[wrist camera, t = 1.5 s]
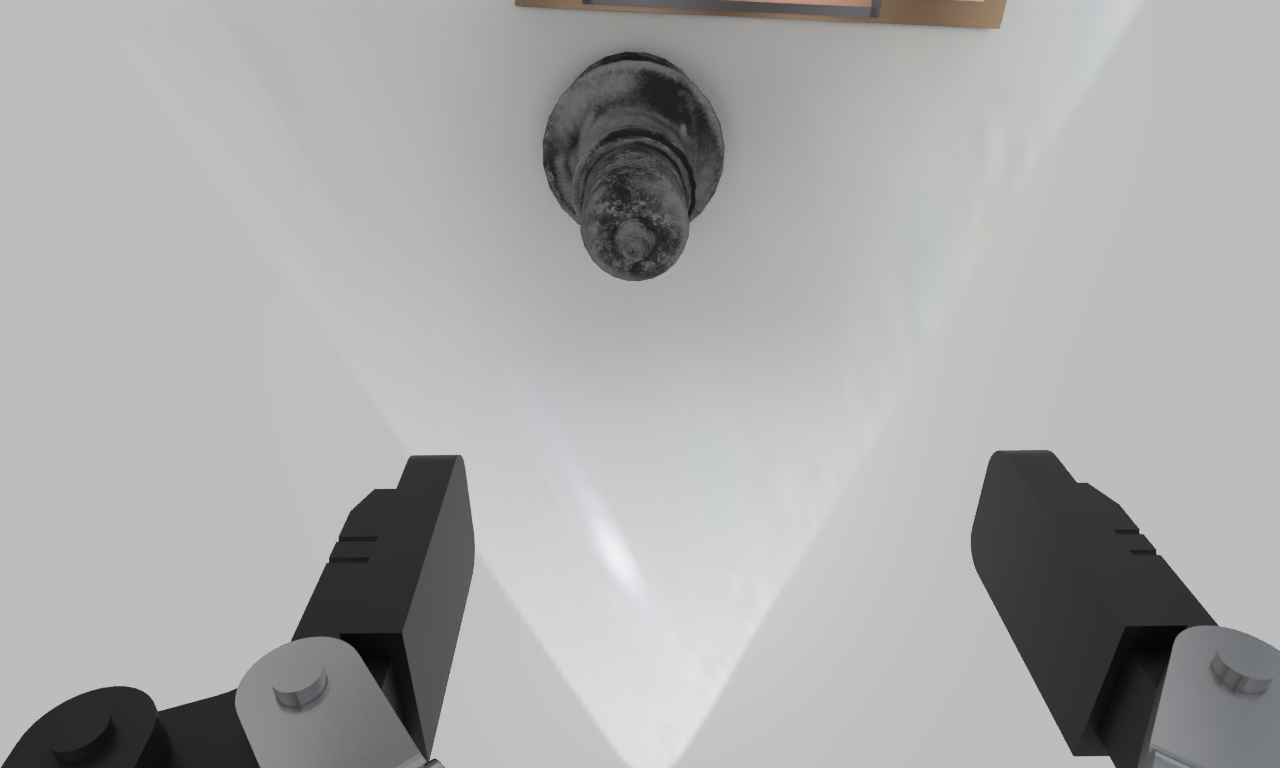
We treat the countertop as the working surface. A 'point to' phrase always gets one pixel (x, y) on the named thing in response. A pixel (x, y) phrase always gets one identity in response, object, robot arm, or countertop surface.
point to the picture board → (812, 9)
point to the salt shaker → (633, 161)
